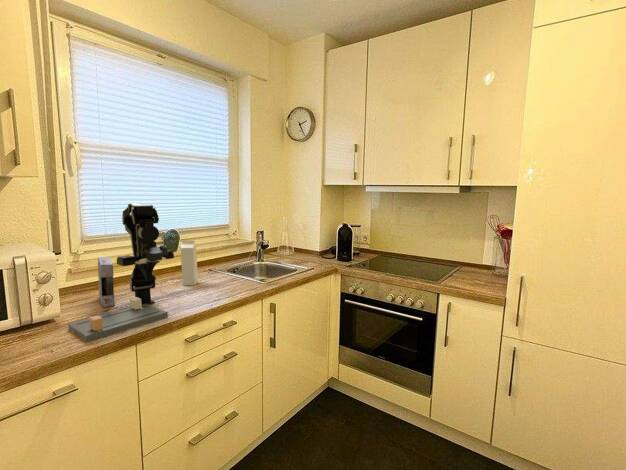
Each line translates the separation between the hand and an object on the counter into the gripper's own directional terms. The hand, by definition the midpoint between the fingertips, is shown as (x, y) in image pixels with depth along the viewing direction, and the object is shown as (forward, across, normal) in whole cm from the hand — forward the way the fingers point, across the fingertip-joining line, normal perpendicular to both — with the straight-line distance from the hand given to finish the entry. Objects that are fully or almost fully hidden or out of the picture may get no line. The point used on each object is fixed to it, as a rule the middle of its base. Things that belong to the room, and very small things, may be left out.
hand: (148, 280), depth 124 cm
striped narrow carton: (+13, -4, +29) cm, 32 cm away
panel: (+13, -11, -1) cm, 17 cm away
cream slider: (+11, -3, +4) cm, 12 cm away
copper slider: (+11, -20, -6) cm, 23 cm away
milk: (+13, +33, +26) cm, 44 cm away
